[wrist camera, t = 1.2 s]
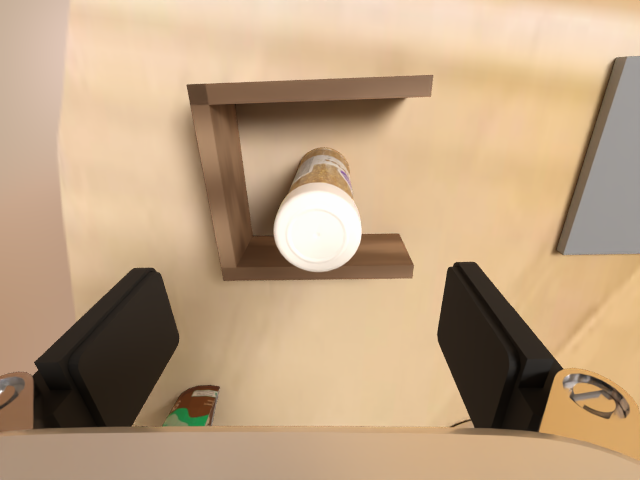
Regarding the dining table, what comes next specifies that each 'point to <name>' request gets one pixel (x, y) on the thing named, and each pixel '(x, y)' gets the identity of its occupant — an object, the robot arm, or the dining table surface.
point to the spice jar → (319, 214)
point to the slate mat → (610, 173)
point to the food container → (194, 407)
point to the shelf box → (230, 188)
